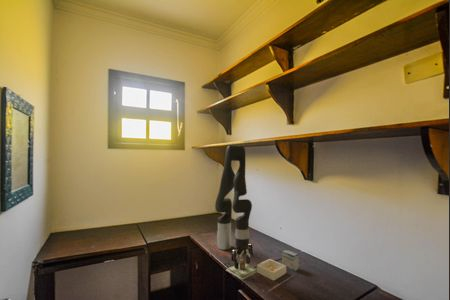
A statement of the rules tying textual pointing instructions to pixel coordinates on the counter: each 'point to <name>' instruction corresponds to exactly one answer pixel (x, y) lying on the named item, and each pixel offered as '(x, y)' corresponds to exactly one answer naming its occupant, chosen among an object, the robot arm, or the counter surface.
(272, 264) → the cream square tray
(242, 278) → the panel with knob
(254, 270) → the lid
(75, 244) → the counter surface
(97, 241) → the counter surface
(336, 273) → the counter surface
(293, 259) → the medicine box
